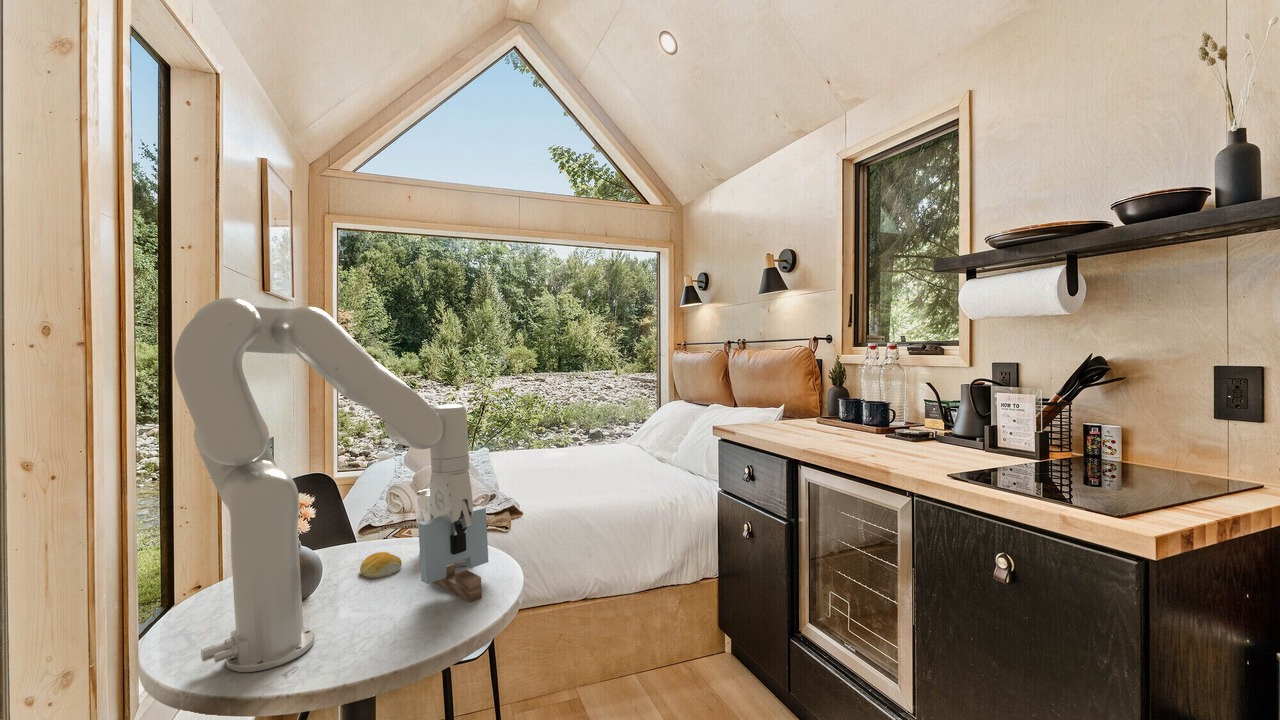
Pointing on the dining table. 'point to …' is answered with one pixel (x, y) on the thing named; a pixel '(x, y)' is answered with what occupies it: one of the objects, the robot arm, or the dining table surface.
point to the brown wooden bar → (462, 583)
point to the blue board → (439, 546)
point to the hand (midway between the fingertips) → (455, 550)
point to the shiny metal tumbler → (423, 506)
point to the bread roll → (380, 565)
